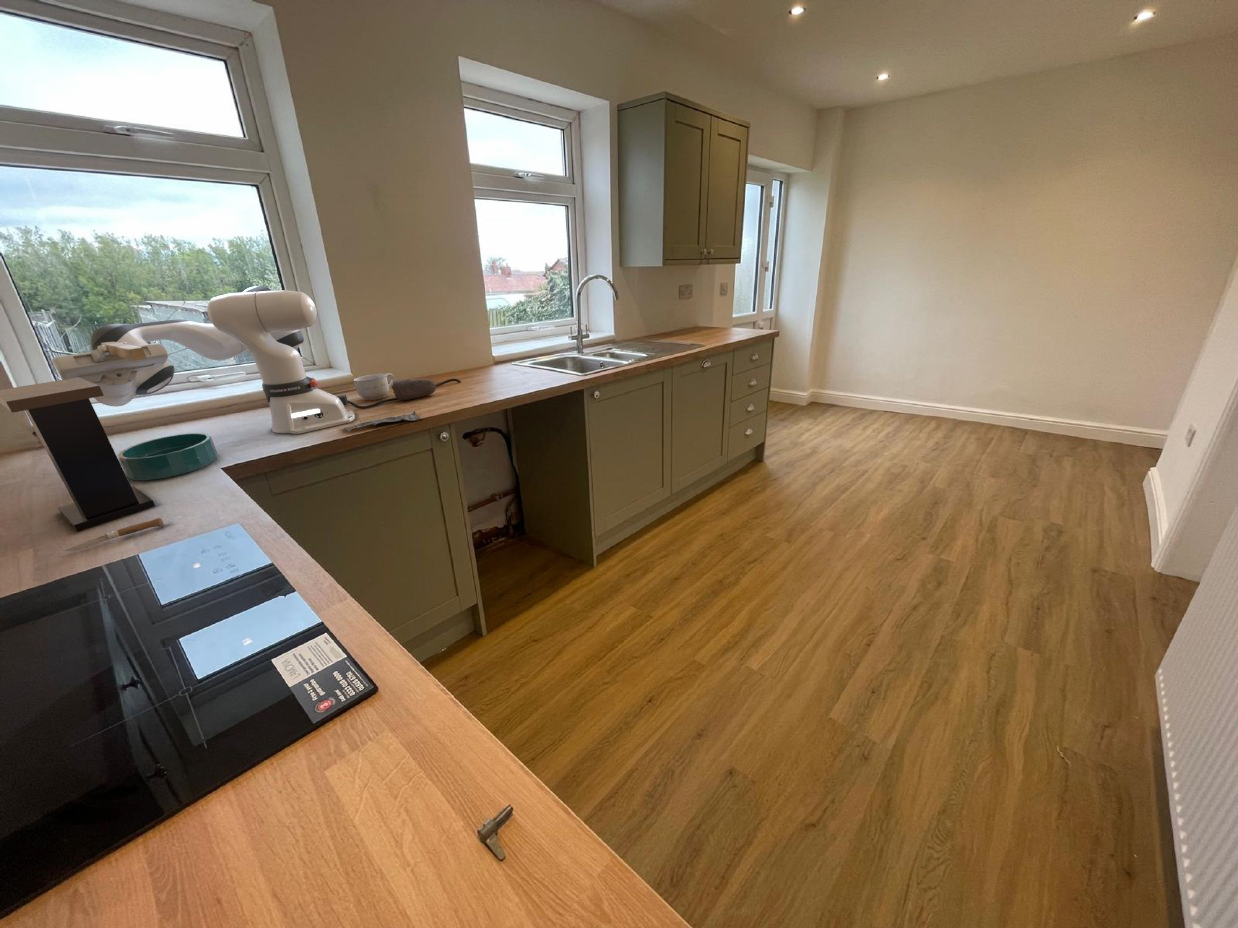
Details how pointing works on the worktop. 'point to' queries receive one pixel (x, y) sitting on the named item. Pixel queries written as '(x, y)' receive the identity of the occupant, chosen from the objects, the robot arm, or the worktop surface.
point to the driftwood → (386, 420)
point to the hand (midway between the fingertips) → (114, 346)
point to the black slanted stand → (78, 450)
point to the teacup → (373, 386)
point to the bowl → (168, 456)
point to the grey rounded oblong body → (413, 388)
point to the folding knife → (118, 534)
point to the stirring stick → (125, 351)
